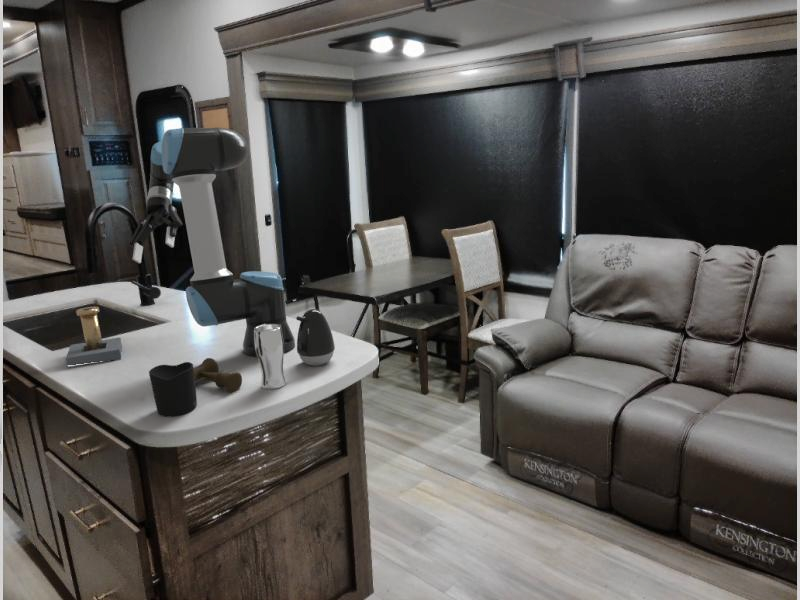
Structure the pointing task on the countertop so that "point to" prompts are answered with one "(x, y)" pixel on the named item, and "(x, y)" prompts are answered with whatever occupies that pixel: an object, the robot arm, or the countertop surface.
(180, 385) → the pen holder
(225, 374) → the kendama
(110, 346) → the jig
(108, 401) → the countertop surface
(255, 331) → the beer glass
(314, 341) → the pump dispenser
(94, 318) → the bushing
